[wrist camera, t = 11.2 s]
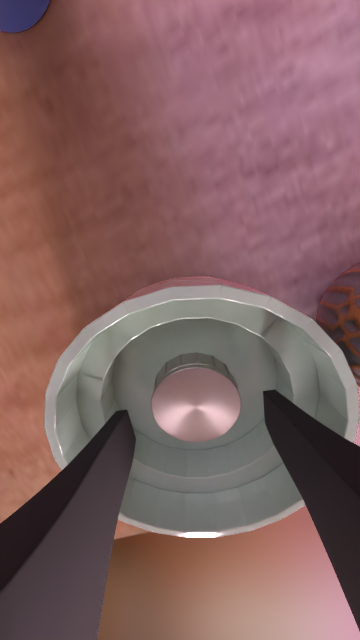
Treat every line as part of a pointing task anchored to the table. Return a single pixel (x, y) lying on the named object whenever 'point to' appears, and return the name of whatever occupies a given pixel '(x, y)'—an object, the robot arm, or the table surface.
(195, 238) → the table surface
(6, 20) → the jar
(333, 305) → the vase
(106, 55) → the table surface
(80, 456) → the robot arm
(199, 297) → the bowl
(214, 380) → the lid
